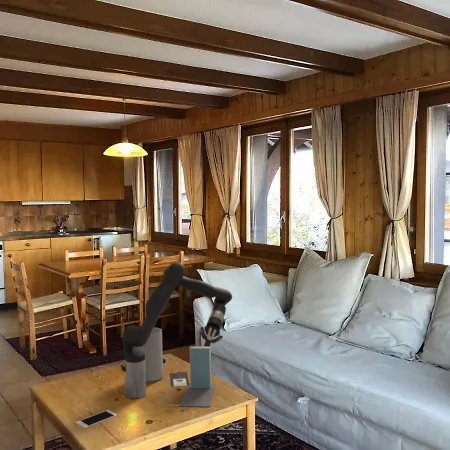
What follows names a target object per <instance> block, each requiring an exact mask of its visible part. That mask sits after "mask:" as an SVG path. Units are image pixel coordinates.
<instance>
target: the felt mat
mask: <svg viewBox="0 0 450 450" xmlns="http://www.w3.org/2000/svg"><path fill="white" fill-rule="evenodd" d="M216 385H217V384H216V383H211V388H191V384H190V382H189V385H186V388H185V391H184V393H183V395H182V398H181V399H180V400H181V401H179V406H178V407H180V408H182V407H183V408H184V407H187V408H210V407H211V402H212V400H213V397H214V396H213V395H214V393H215V389H216Z"/></svg>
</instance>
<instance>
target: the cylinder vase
mask: <svg viewBox="0 0 450 450" xmlns="http://www.w3.org/2000/svg"><path fill="white" fill-rule="evenodd" d="M162 331H163V329H162V328H158V327H153V330H152V332H151V334H150V336H149V338H148V340H147V342H146V344H145V345H144V346H142V347H138V348H139V349H140V350H141V351H143V352H144V354H145V372H146V383H153V382H156V381H159V380H162V378H163V377H164V368H163V367H164V366H163V364H164V362H163V358H164V357H163V332H162Z"/></svg>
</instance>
